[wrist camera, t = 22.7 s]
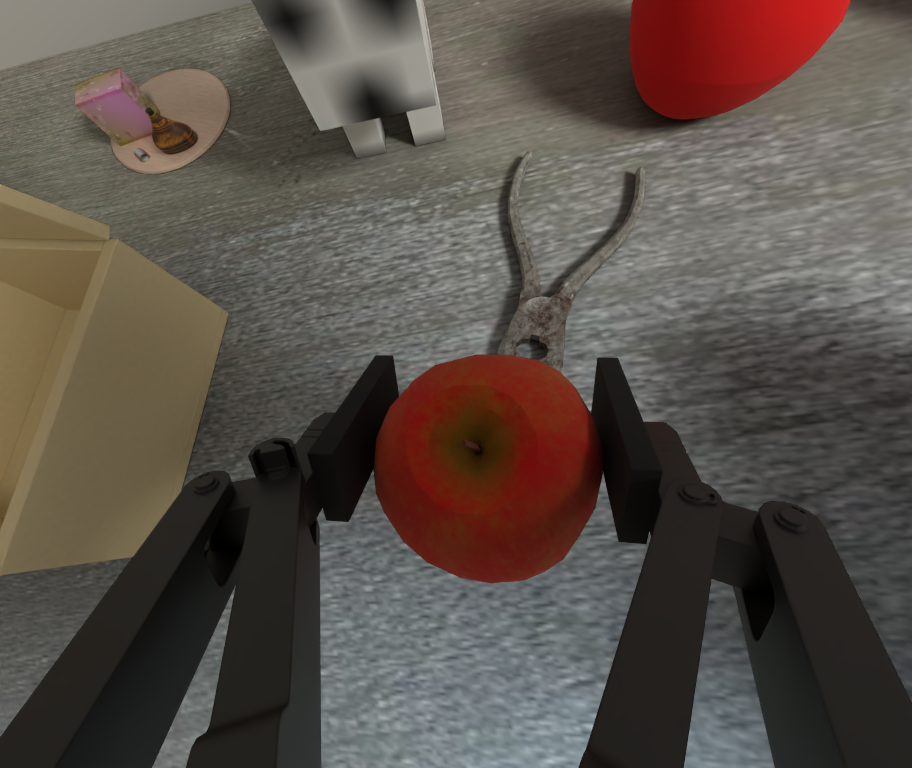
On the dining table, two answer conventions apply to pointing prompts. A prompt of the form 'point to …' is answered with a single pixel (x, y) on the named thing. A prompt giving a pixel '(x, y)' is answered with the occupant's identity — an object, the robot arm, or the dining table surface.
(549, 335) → the pliers
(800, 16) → the tomato
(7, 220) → the lid
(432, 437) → the apple
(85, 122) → the dining table surface
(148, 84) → the pink plate
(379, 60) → the toy llama
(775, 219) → the dining table surface
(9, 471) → the chest
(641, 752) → the robot arm
